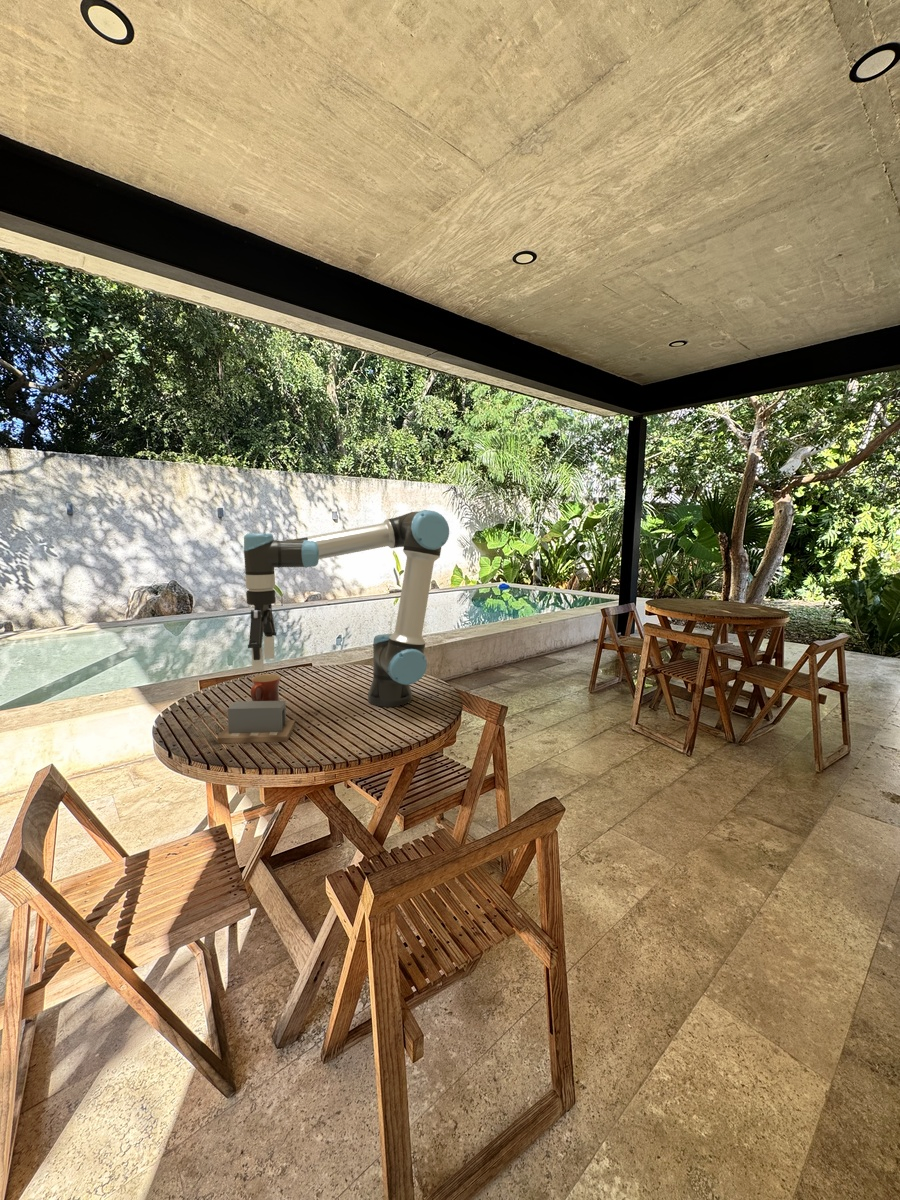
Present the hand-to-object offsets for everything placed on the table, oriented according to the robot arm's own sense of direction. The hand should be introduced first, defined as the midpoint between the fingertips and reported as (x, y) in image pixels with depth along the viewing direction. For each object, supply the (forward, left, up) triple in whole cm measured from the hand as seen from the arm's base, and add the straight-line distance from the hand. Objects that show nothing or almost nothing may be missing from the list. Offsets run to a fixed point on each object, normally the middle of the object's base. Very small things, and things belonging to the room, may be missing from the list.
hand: (264, 664), depth 138 cm
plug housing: (+2, +2, -18) cm, 18 cm away
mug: (+5, -17, -20) cm, 26 cm away
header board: (+2, +2, -19) cm, 20 cm away
